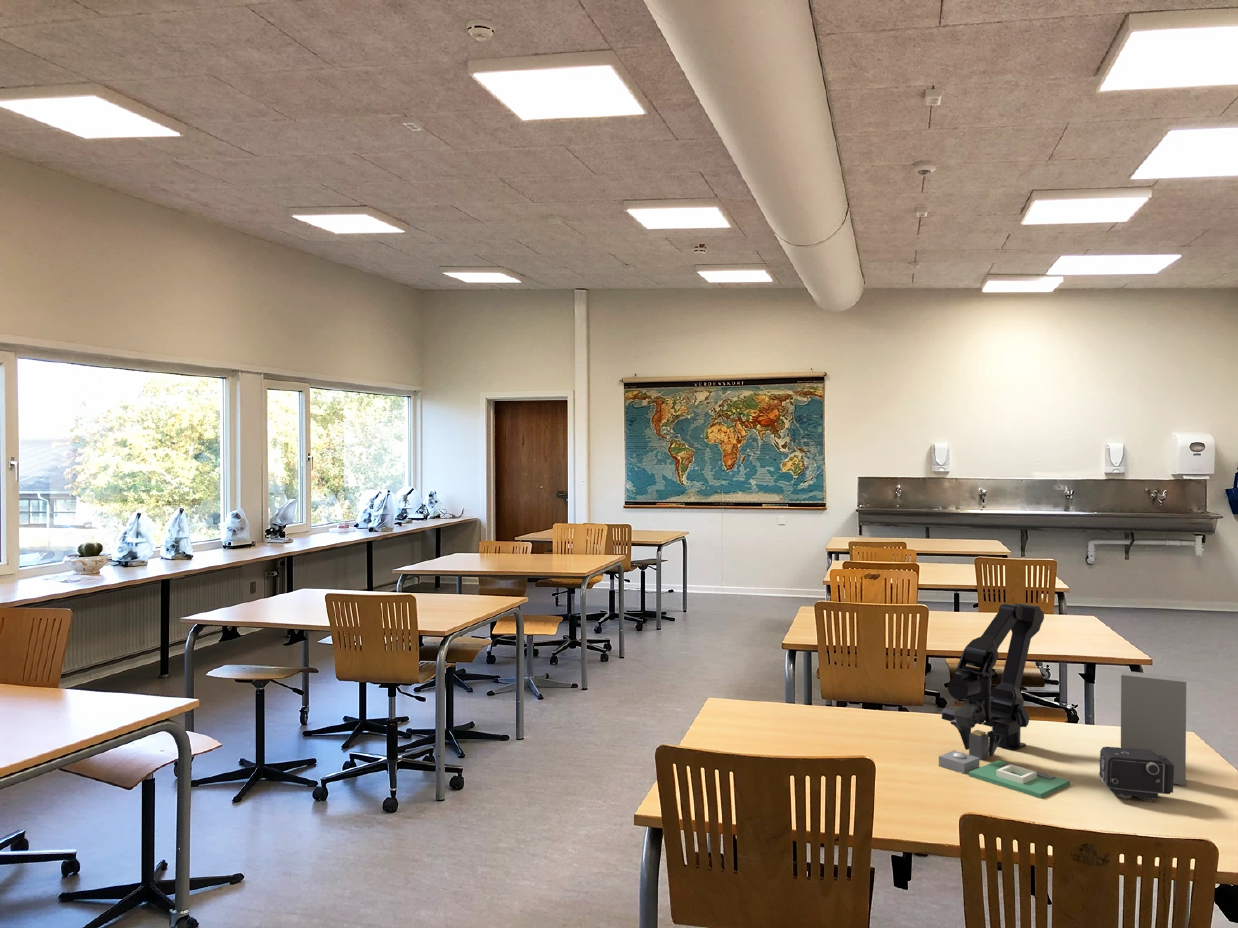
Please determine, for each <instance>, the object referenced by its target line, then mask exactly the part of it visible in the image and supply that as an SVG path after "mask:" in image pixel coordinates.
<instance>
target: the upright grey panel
mask: <svg viewBox="0 0 1238 928" xmlns="http://www.w3.org/2000/svg"><path fill="white" fill-rule="evenodd" d="M1186 742H1187V679H1186V677H1185V676H1174V675H1165V674H1157V673H1156V674H1155V673H1147V672H1146V673H1145V672H1138V671H1128V670H1121V675H1120V748H1131V749H1147V750H1152V751H1153V752H1154V753H1156V754H1157V755H1165V756H1166V757H1167V758H1168V759H1169V760H1170V761H1171V763H1172V764H1173V765H1174V781H1173V785H1179V786H1181V785H1184V786H1187V777H1186V776H1187V775H1186V773H1187V772H1186V769H1187V767H1186V764H1187V763H1186V762H1187V753H1186V752H1187V750H1186V749H1187V748H1186V747H1187V743H1186Z"/></svg>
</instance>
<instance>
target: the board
mask: <svg viewBox="0 0 1238 928" xmlns="http://www.w3.org/2000/svg"><path fill="white" fill-rule="evenodd" d="M968 776H969V777H971V778H974V779H977V780H980V781H983V782H986V783H990V784H993V785H997V786H1000V787H1003V788H1006V789H1009V790H1013V791H1016V792H1019V793H1023V794H1026V795H1029V796H1032V797H1036V798H1038V799H1043V798H1044V797H1047V796H1048V795H1051V794H1053V793H1056V792H1058V791H1059V790H1061V789H1063V788H1066V787H1068V786H1070V785H1071V780H1069V779H1065V778H1063V777H1059V776H1056V775H1053V774H1049V773H1045V772H1042V771H1038V770H1034V769H1031V768H1028V767H1024V766H1022V765H1021V766H1020V765H1017V764H1013V763H1011V762H1007V761H1004V760H1000V759H998V760H996V761H992V762H990V763H988V764H987V763H986V764H985V765H982V766H979V768H977V769H975V770H972V771H970V772H968Z"/></svg>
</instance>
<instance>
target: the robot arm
mask: <svg viewBox="0 0 1238 928" xmlns="http://www.w3.org/2000/svg"><path fill="white" fill-rule="evenodd" d="M1044 620H1045V614H1044V611H1043V610H1042V609H1041V607H1040V606H1039V605H1032V604H1024V603H1018V602H1016V603H1014V604H1012V603H1011V604H1010V603H1001V604H1000V606H999V607H998V611H997V613H996V614H995V616H994V618H993V619H992V620H991V622H990V624H989V625H987V627H986V629H985V630H984V631H983V633H982V635H981V636H979V637H976V638H974V639H971V641H970V642H969V643H968V644H967V645H966V646H965V648H964V649H963V651H962V654H961V656H960V659H959V662H958V664H957V667H956V672H954V677H952V678H951V679H950V680H949V681H948V683H947V691H948V693H949V695H950V696H951V697H952V698H953V699H955V700H957V701H962V700H963V705H960V706H956V705H951V706H948V707H944V708H943V709H942V711H941V720H943V721H948V722H949V723H950V724H951V725H953V726H954V727H955V728H956V729H957V730H958V734H959V736H960V739H961V740H962V743H963V745H964V749H965V750H966V751H969V734H970V733H972V729H973V728H975V727H976V725H983V726H985V727H986V726H987V727H989V728H991V730H990V731H987V732H986V734H988V736H989V758H990V757H993V756H994V754H995V752H996V750H997V748H998V747H1001V748H1005V749H1009V750H1012V751H1015V750H1019V749H1021V748H1024V747H1026V746H1027V744H1026V743H1025V742H1021V735H1022V734H1021V728H1027V727H1028V725H1029V723H1030V715H1029V713H1027V711H1026V710H1025V708H1024V703H1025V702H1024V701H1025V700H1024V698H1023V695H1022V692H1021V686H1022V682H1023V676H1024V672H1025V668H1026V662H1027V658H1028V654H1029V649H1030V644H1031V641H1032V640H1031V639H1033V637H1034V636H1035V635H1036V634H1037V633H1039V631H1040V630H1041V626H1042V623H1044ZM1010 631H1011V637H1010V642H1009V646H1008V650H1007V654H1006V658H1005V659H1006V660H1005V663H1004V667H1003V671H1002V676H1001V680H1000V683H999V685H997V686H996V687H995V686H992V676H994V675H996V672H995V671H994V670H993V669H994V667H995V666H996V664H997V661H998V659H999V648H1000V646H1001V645H1002V643H1003V641H1004V640H1005V639H1006V637H1007V636H1008V634H1009V633H1010Z"/></svg>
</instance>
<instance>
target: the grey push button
mask: <svg viewBox="0 0 1238 928" xmlns="http://www.w3.org/2000/svg"><path fill="white" fill-rule="evenodd" d="M938 767H940V768H944V769H948V770H951V771H954V772H957V773H961V774H963V775H964V774H966V773H969V772H970V771H972V770H975V769H977V768H980V760H979V758H978V757H975V756H971V755H969V753H968V754H967V753H964V752H961V751H957V750H952V751H949V752H946V753H944V754H941V755H939V756H938Z"/></svg>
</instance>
